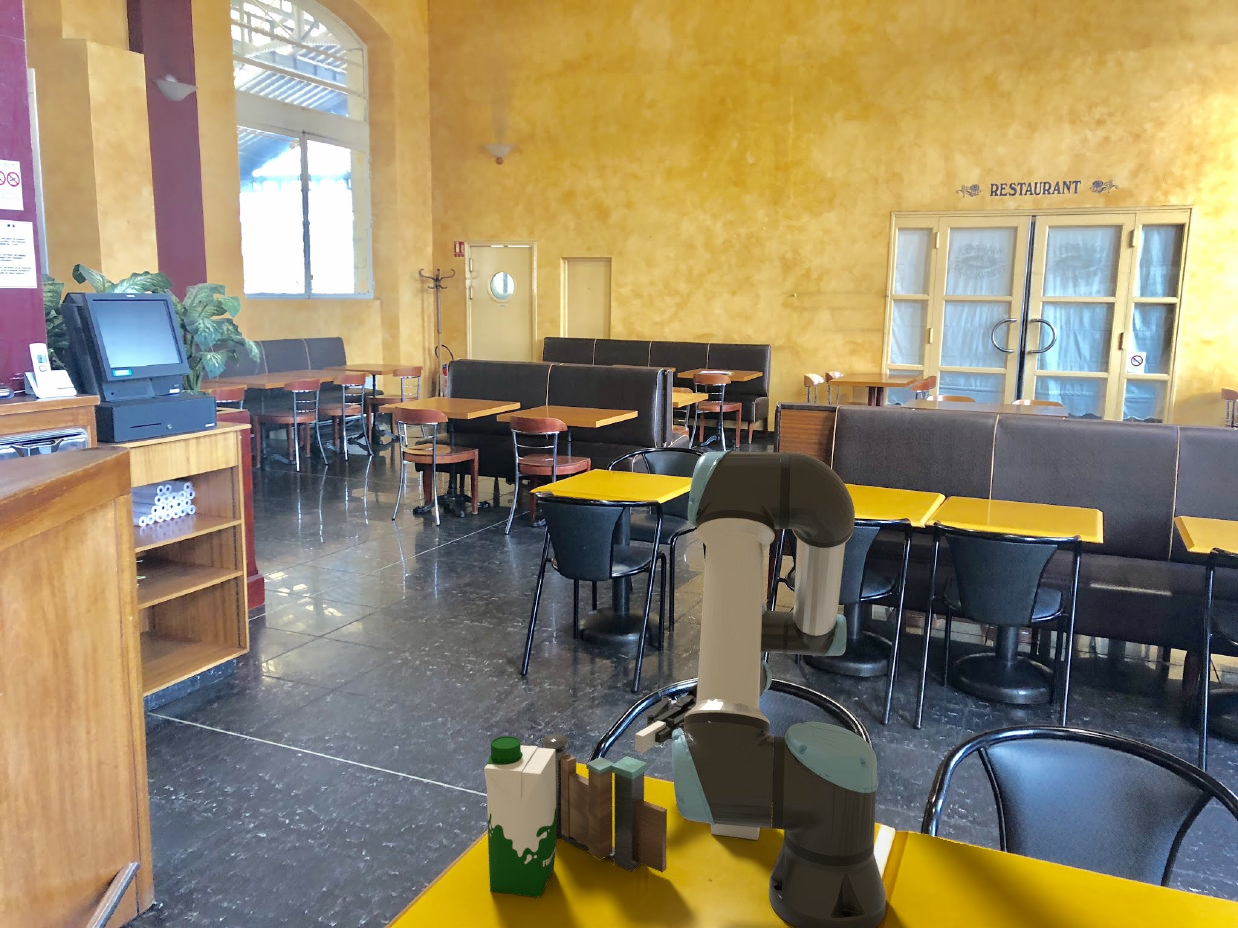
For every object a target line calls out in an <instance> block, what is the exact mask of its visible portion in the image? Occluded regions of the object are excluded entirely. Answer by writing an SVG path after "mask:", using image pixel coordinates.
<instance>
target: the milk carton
mask: <svg viewBox="0 0 1238 928" xmlns="http://www.w3.org/2000/svg"><path fill="white" fill-rule="evenodd" d="M483 770H484V777H485V784H486V802H487V803H486V805H487V807H486V808H487V810H486V811H487V846H488V848H487V850H488V851H487V852H488V872H489V873H488V874H489V876H488V877H489V891H490V892H493V893H500V894H502V893H503V894H509V895H516V896H517V895H518V896H526V897H533V898H541V896H542V895H543V892H544V890H545V888H546V886H547V884H548V881H549V880H550V877H551V876H552V873H553V871H554V870H555V861H556V853H557V839H556V772H555V749H548V748H544V747H539V746H537V745H522V744H521V740H520V739H519V738H518V737H516V736H510V735H509V736H508V735H507V736H506V735H504V736H499V737H496V738H494V739H492V740H491V742H490V755H489V757H488V761H487V762H486V765H485V766H484V769H483Z"/></svg>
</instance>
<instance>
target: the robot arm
mask: <svg viewBox="0 0 1238 928" xmlns="http://www.w3.org/2000/svg"><path fill="white" fill-rule="evenodd" d="M687 506H688V507H687V520H688V524H689V525H690V526H692V527H695V528H696V536H697V538H698V539H699V540H700V541H701V542H702V544H704V546H705V557H704V558H705V560H704V574H703V590H702V609H701V620H700V621H701V622H700V623H701V625H700V638H699V639H700V641H699V654H698V655H699V656H698V657H699V658H698V670H697V671H698V673H697V683H695V684H693V685H692V687H690V689H689V690H688V692H687V694H686V695H685V696H678V698H676V700H672V699H671V698H669V696H668V695H663V696H662V695H661V701H660V702H659V703H658V704H657V705H656V706H655V707H654V708H653V709H652V710H651V711H650V712H649V713H648V714H647V715H646V717H647V718H646V721H647V722H646V726H644V727H643V728H642V729H641V730H639V731H637V732H636V733H635V734H634V735H635V736H634V739H635V740H634V741H635V742H634V743H635V745H634V746H635V747H634V748H635V749H634V751H636V752H639V753H642V754H644V753H645V752H647V751H648V750H650V749H652V748H653V747H655V746H657V745H658V744H662V743H665V742H666V741H667V740H669V739H670V740H671V763H672V766H671V767H672V777H673V787H674V797H675V802H676V807H677V810H678V813H679V814H680V816H681V817H683V818H684V819H686V820H687V821H692V822H698V823H704V824H710V826H711V825H715V824H724V825H735V826H746V827H758V828H760V829H769V830H770V829H773V830H782V831H783V842H782V845H781V848H780V850H779V852H778V855H777V857H776V861H775V862H774V866H773V867H772V870H771V872H770V877H769V881H768V882H769V883H768V885H769V887H768V901H769V903H770V905H771V908H772V909H773V911H775V913H776V914H777V915H778V916H779V917H780V918H781V919H782V920H783V921H785V922H787V924H789V925H791V926H793V927H795V928H877V927H879V925H880V924H881V923H882V922H883V919H884V918H885V914H886V902H887V901H886V899H887V897H886V889H885V886H884V883H883V879H882V876H881V872H880V869H879V866H878V863H877V858H876V855H875V853H874V852H875V833H876V832H875V831H876V826H875V825H876V804H877V803H876V801H877V800H876V798H877V790H878V788H879V779H878V774H877V773H878V770H877V769H878V766H877V765H878V763H877V762H878V761H877V756H876V753H875V751H874V749H873V748H872V746H871V744H870V743H869V742H868V741H866V740H865V739H864V738H863V737H862V736H860V735H858V734H856V733H855V732H853V731H851V730H850V729H847V728H844V727H841V726H839V725H835V724H830V723H826V722H821V721H820V722H819V721H804V722H803V723H801V722H797V723H794V724H792V725H791V726H789V728H788V729H787V731H786V733H785V734H784V736H773V735H770V730H771V724H770V720H769V719H768V718H767V717H766V716H765V715H764V714H763V712H761V709H760V697H761V696H762V695H763V694H764V693H765V692H767V691H768V689H769V688H770V686H771V684H772V680H773V675H772V671H771V669H770V667H769V664H768V662H766V660H764V654H765V653H773V654H774V653H775V654H790V655H791V654H793V655H795V654H796V655H805V656H806V655H808V656H820V657H827V656H828V657H829V656H830V657H831V656H832V657H833V656H834V657H835V656H843V655H844V653H845V652H846V647H847V637H848V636H847V635H848V634H847V620H846V619H847V618H846V616H844V615H843V614H840V613H839V614H838V612H839V603H840V601H839V600H840V592H841V585H842V584H841V583H842V575H843V566H844V557H845V556H844V555H845V549H846V548H845V547H846V543H847V542H848V541H849V540H850V539H851V537H852V536H853V533H854V528H855V522H856V521H855V520H856V519H855V518H856V517H855V516H856V514H855V513H856V512H855V506H854V502H853V499H852V496H851V495H850V491H849V489H848V488H847V486H846V485H845V483H844V481H843V480H842V479H841V477H840V476H839V475H838V474H837V473H836V472H835V471H834V469H833V468H831V467H830V466H829V465H827V463H825V462H823V461H822V460H820V459H818V458H817V457H814V456H812V455H809V454H807V453H801V452H795V451H793V452H791V451H790V452H768V451H767V452H766V451H763V452H762V451H733V450H732V449H731V450H730V449H727V450H725V451H708V452H704V453H703V454H702V455H700V456H699V457H698V459H697V462H696V464H695V466H694V470H693V473H692V478H691V483H690V487H689V500H688V505H687ZM788 529H790V530H792V532H793V535H794V536H795V537H796V555H795V558H796V559H795V576H794V577H795V580H794V597H793V599H794V600H793V611H784V610H782V611H781V610H766V608H765V606H766V605H765V602H764V601H763V591H764V590H763V589H764V587H763V586H764V559H765V557H764V556H765V555H764V553H765V549H766V548H767V547H768V546H769V545H771V544H772V543H773V542H774V540H775V534H776V530H788Z"/></svg>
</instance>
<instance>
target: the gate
mask: <svg viewBox="0 0 1238 928" xmlns="http://www.w3.org/2000/svg"><path fill="white" fill-rule="evenodd" d="M585 764H586V765H585V766H586V768H585V769H587V770H588V771H587V772H588V773H587V774H588V777H587V778H586V777H585V776H584V775H581V774H580V773H578V772H577V757H576V756H573V755H572V754H569V753H568V754H566V756H563V757H561V830H562V834H563V835H565V836H566V837H568V838H569V837H573V838H574V839H576V840H578V841H579V842H581V843H583V844H584V845H586V846H588V847H589V851H588V853H589V854H590V855H592V856H593V857H595V858H597V859H598V860H602V859H605V858H604V857H606V856H608V855H610V854H612V846H613V773H612V772H611V765H613V764H615V763H614V762H612V761H610V760H608V759H606V758H604V757H602V756H599V757H598V758H595V759H593V760H590V761H588V762H587V763H585Z"/></svg>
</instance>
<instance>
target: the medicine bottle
mask: <svg viewBox="0 0 1238 928" xmlns="http://www.w3.org/2000/svg"><path fill="white" fill-rule="evenodd" d="M760 831H761V828H758V827H746V826H735V825H724V824H715V825H711V824H710V833H711V834H712V835H715V836H716V835H717V836H725V837H730V838H740V839H747V840H752V841H753V840H754V841H757V840H758V839H759V837H760Z"/></svg>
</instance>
